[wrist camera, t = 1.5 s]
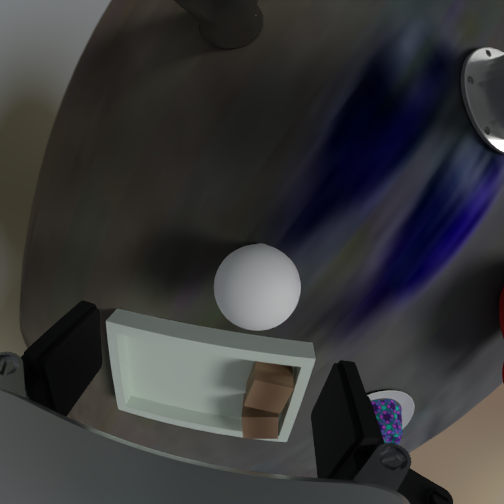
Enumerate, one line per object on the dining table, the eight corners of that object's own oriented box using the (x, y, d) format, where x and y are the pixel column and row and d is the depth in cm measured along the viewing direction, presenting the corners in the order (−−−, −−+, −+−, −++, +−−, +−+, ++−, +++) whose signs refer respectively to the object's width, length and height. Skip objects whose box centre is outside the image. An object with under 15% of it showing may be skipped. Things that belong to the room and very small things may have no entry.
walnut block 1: (291, 364, 32) (293, 388, 28) (280, 389, 33) (280, 413, 30) (256, 355, 32) (254, 379, 28) (246, 381, 33) (243, 405, 30)
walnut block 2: (278, 393, 34) (278, 417, 30) (277, 415, 35) (277, 438, 31) (244, 393, 34) (241, 416, 30) (245, 415, 35) (243, 438, 31)
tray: (312, 342, 32) (315, 358, 29) (286, 425, 36) (286, 442, 34) (117, 308, 33) (105, 320, 30) (126, 395, 37) (118, 409, 34)
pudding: (376, 374, 34) (388, 402, 29) (427, 402, 35) (440, 427, 30) (313, 429, 37) (316, 457, 32) (369, 450, 38) (375, 475, 33)
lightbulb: (301, 273, 30) (314, 334, 19) (241, 290, 31) (226, 356, 20) (282, 213, 28) (288, 247, 18) (220, 233, 29) (191, 276, 19)
